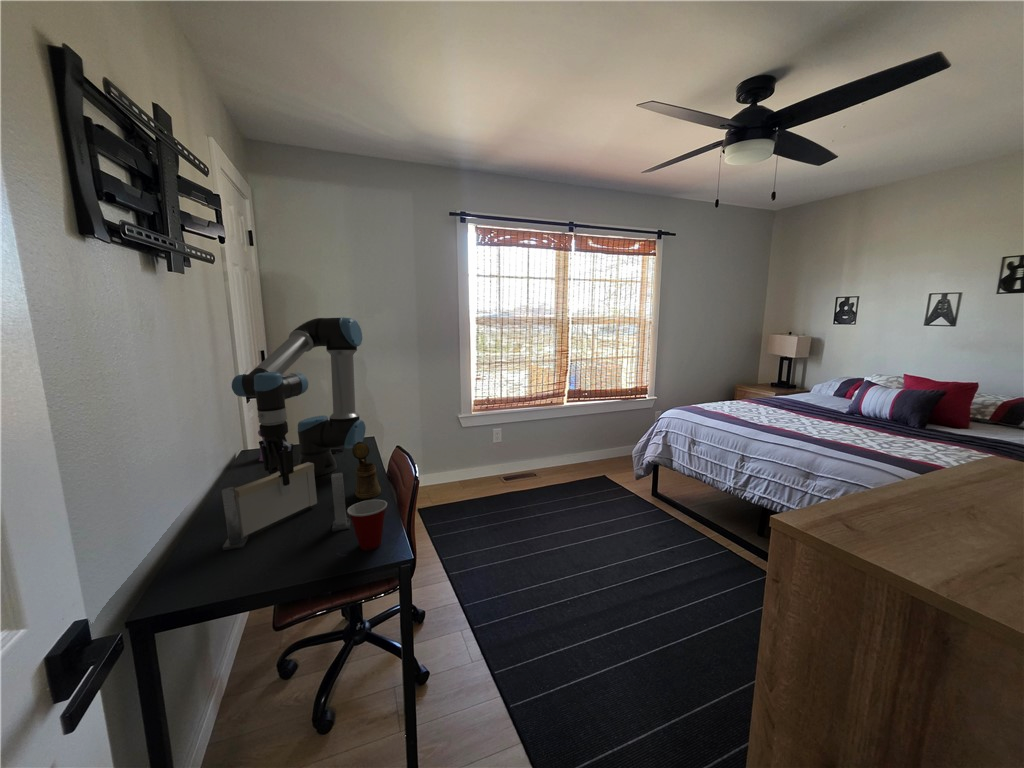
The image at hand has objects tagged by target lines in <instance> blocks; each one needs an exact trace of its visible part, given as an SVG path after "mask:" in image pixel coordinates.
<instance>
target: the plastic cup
mask: <svg viewBox="0 0 1024 768" xmlns="http://www.w3.org/2000/svg"><path fill="white" fill-rule="evenodd" d="M387 506H388V502H387V501H386V500H383V499H367V500H363V501H360V502H357V503H354V504H352V505H351V506H349V507H348V508H347V510H346V513H347V514H348V515H349V518H350V521H351V522H352V525H353V526H352V527H353V528H354V532H355V536H356V538H357V541H358V546H359V547H360V549H361V550H363V551H372V550H374V549H377V548H378V547H380V545H381V543H382V536H383V532H384V531H383V529H384V522H385V521H384V519H385V514H386V509H387Z"/></svg>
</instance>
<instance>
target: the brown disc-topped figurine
mask: <svg viewBox="0 0 1024 768" xmlns="http://www.w3.org/2000/svg"><path fill="white" fill-rule="evenodd" d="M351 449H352V455H353V456H354V458H356V459H357V460H358V465H357V467H356V471H355V475H356V486H355V487H356V488H355V492H354V493H355V494H354V496H355V497H356V498H358V499H362V500H363V499H364V500H366V499H367V500H369V499H372V498H373V499H374V498H375V497H378V496H380V495H381V493H382V490H381V486H380V484H379V479H378V475H377V467H376V466H375V463H374V462H368V461H367V457H368V456H369V454H370V448H369V445H367V444H366V443H365V442H364V441H362V442H360V441H359V442H357V443H356V444H355V445H354V446H353V448H351Z"/></svg>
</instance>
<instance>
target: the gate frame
mask: <svg viewBox="0 0 1024 768" xmlns="http://www.w3.org/2000/svg"><path fill="white" fill-rule="evenodd" d="M343 475H344V473H343V472H338V473H337V472H336V473H332V474H331V476H330V478H331V479H330V480H331V489H332V490H331V491H332V498H333V511H334V520H333V521H332V527H331V531H332V532H339V531H344V530H350V529H351V517H347V510H346V509H347V507H346V495H345V485H344V476H343ZM235 488H236V487H234V486H228V487H225V488H223V489H221V496H222V501H223V509H224V516H225V524H226V531H227V536H228V538H227V540H226V541H225V542H224V544H223V545H222V551H227V550H228V551H229V550H233V549H240V548H244V547H245V545H246V543H247V541H248V539H249V534H248V535H246V536H244V537H243V536H241V530H240V523H239V516H238V509H237V501H236V495H235Z"/></svg>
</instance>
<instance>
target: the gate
mask: <svg viewBox="0 0 1024 768" xmlns="http://www.w3.org/2000/svg"><path fill="white" fill-rule="evenodd" d="M293 468H294V472H293V473H291V474H289V480H290V492H291V493H289V494H287V495H285V496H281V491H280V483H279V477H278V476H279V475H280V471H278V472H279V473H276V474H273V475H270V474H269V475H267V476H265V477H262V478H260V479H256V480H254V481H252V482H249V483H246V484H243V485H240V486H237V487H234V488H235V495H236V503H237V510H238V517H239V524H240V532H241V536H243V537H244V536H246V535H248V536H249V535H250V534H253V533H254V532H256V531H259V530H261V529H263V528H265V527H267V526H269V525H272V524H273V523H275V522H278V521H280V520H282V519H284V518H287V517H289V516H291V515H293V514H295V513H297V512H299V511H300V512H301V510H303V509H305V508H308V507H312V506H314V505H317V504H318V498H317V488H316V487H317V486H316V479H315V477H316V476H314V463H310V462H307V463H304V464H301V465H298V464H297V465H296V466H293Z"/></svg>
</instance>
